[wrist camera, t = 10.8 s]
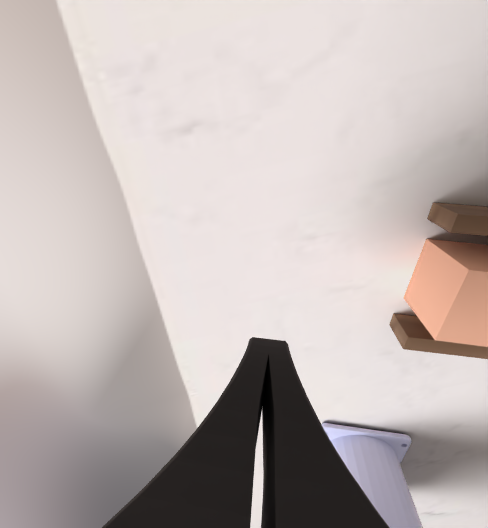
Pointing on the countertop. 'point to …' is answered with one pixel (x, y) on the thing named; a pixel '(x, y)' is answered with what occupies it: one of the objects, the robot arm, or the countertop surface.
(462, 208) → the walnut bay
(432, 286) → the terracotta block
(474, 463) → the countertop surface
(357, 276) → the countertop surface
